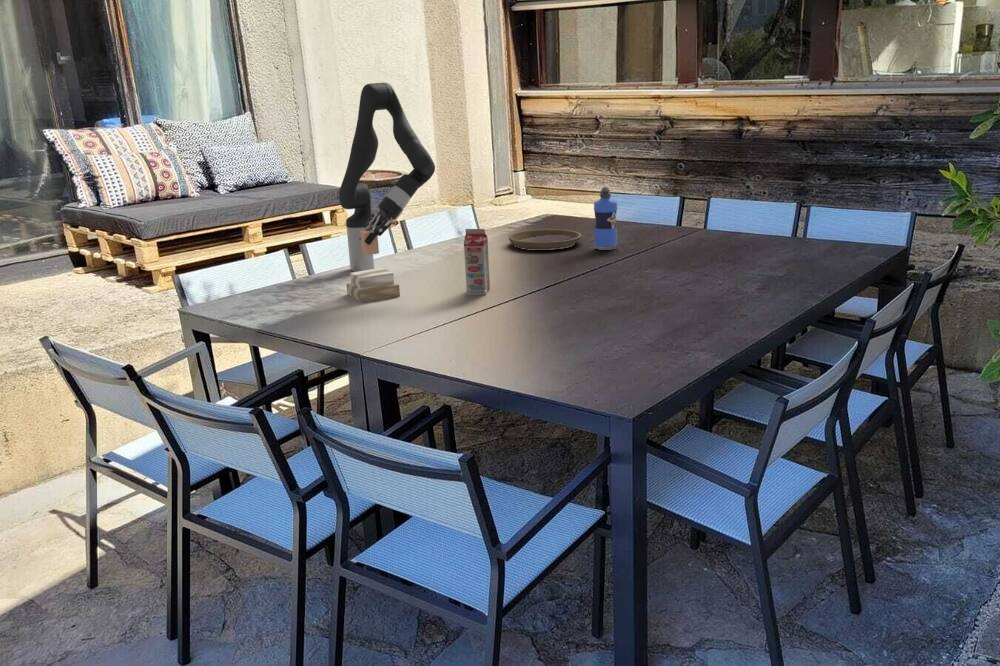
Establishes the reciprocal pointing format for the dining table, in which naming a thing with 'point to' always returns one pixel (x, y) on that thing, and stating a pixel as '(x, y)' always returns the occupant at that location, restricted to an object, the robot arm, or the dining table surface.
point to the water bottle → (605, 220)
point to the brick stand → (372, 285)
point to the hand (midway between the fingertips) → (364, 242)
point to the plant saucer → (543, 245)
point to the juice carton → (476, 262)
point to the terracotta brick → (367, 248)
